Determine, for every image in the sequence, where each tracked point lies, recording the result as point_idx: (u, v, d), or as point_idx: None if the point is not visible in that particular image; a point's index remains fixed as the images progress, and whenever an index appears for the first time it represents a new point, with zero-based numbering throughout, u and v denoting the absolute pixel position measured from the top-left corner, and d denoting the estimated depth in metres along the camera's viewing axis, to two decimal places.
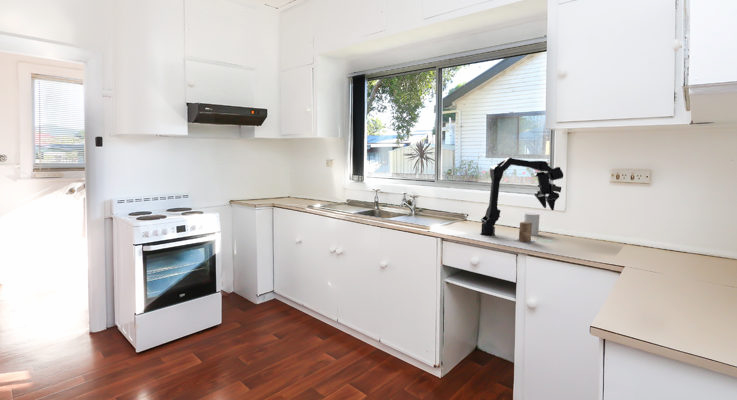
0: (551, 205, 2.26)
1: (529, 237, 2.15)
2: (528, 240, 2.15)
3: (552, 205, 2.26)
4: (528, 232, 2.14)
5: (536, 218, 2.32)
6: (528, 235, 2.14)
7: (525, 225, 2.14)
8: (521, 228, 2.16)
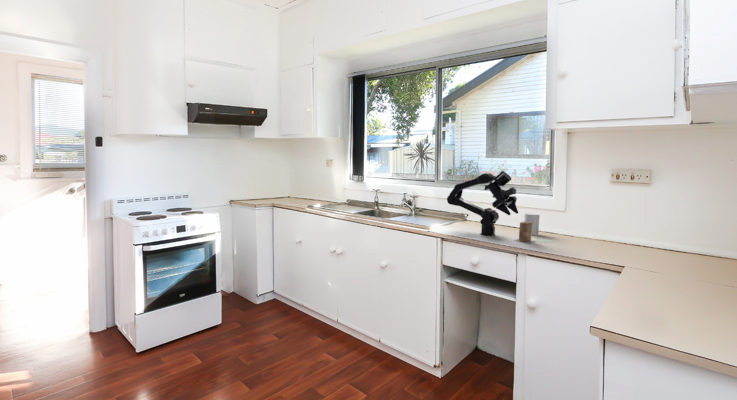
0: (504, 211, 2.19)
1: (529, 237, 2.15)
2: (528, 240, 2.15)
3: (505, 210, 2.18)
4: (528, 232, 2.14)
5: (536, 218, 2.32)
6: (528, 235, 2.14)
7: (525, 225, 2.14)
8: (521, 228, 2.16)
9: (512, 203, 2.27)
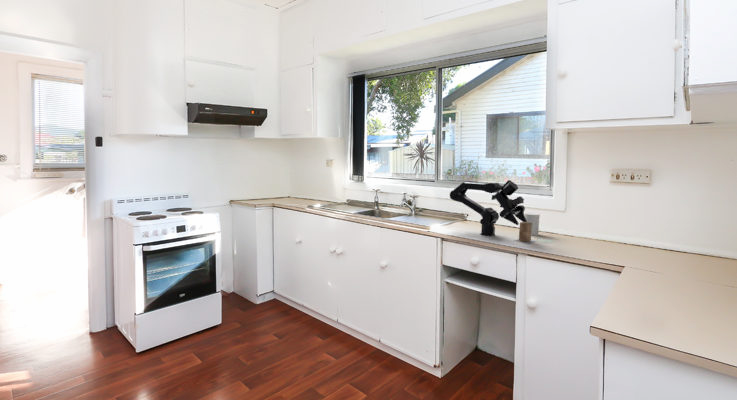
0: (512, 220, 2.15)
1: (529, 237, 2.15)
2: (528, 240, 2.15)
3: (513, 220, 2.15)
4: (528, 232, 2.14)
5: (536, 218, 2.32)
6: (528, 235, 2.14)
7: (525, 225, 2.14)
8: (521, 228, 2.16)
9: (520, 212, 2.23)
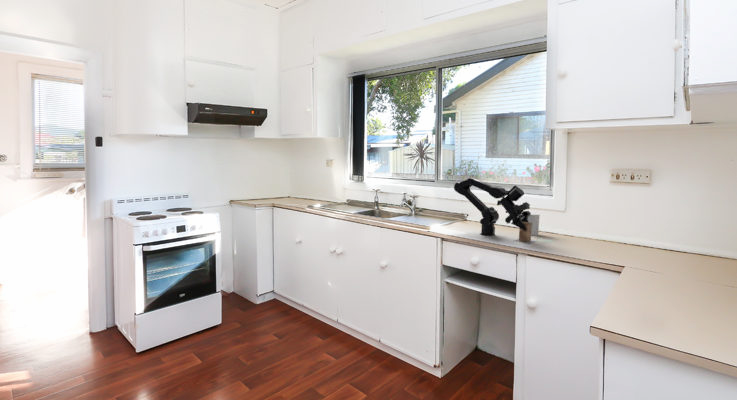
0: (520, 226, 2.15)
1: (529, 237, 2.15)
2: (528, 240, 2.15)
3: (521, 226, 2.14)
4: (528, 232, 2.14)
5: (536, 218, 2.32)
6: (528, 235, 2.14)
7: (525, 225, 2.14)
8: None
9: (524, 218, 2.19)
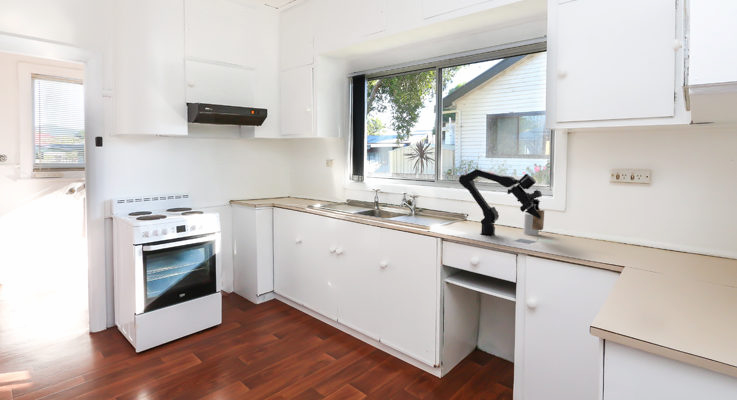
0: (534, 214, 2.14)
1: (542, 225, 2.15)
2: (542, 228, 2.15)
3: (535, 213, 2.13)
4: (542, 220, 2.14)
5: None
6: (542, 223, 2.14)
7: (539, 213, 2.13)
8: None
9: (535, 206, 2.19)
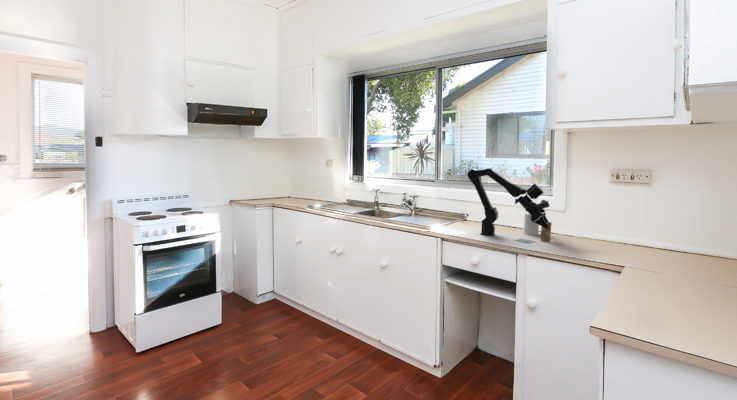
0: (543, 224, 2.14)
1: None
2: (549, 239, 2.18)
3: (544, 224, 2.13)
4: (550, 231, 2.16)
5: None
6: (550, 235, 2.17)
7: (548, 225, 2.16)
8: (543, 228, 2.17)
9: (543, 215, 2.23)
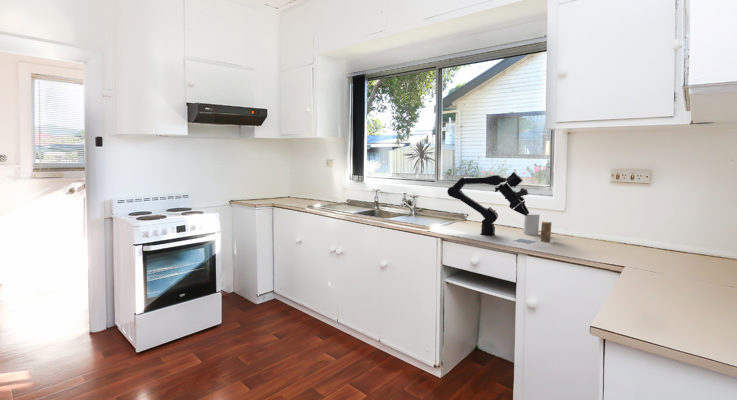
0: (521, 212, 2.18)
1: None
2: (549, 239, 2.18)
3: (522, 211, 2.18)
4: (550, 231, 2.16)
5: (536, 218, 2.32)
6: (550, 235, 2.17)
7: (548, 225, 2.16)
8: (543, 228, 2.17)
9: (522, 204, 2.28)
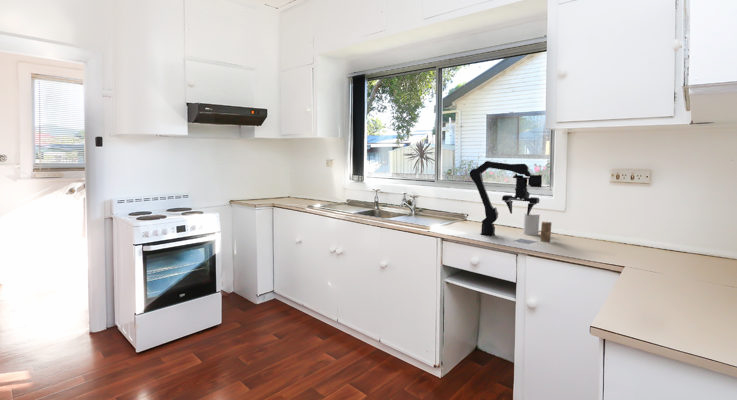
0: (529, 210, 2.20)
1: None
2: (549, 239, 2.18)
3: (530, 210, 2.21)
4: (550, 231, 2.16)
5: (536, 218, 2.32)
6: (550, 235, 2.17)
7: (548, 225, 2.16)
8: (543, 228, 2.17)
9: (511, 202, 2.28)
